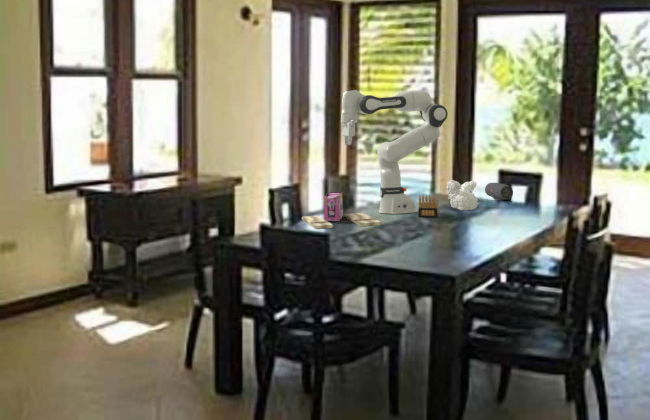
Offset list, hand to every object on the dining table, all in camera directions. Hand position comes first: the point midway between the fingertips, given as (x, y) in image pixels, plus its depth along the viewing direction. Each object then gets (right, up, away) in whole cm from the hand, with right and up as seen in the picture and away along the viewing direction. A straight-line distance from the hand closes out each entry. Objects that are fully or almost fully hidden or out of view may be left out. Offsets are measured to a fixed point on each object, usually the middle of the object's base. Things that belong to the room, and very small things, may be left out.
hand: (348, 144), depth 493 cm
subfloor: (-5, -42, -25) cm, 49 cm away
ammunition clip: (+42, -40, -18) cm, 61 cm away
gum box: (-8, -41, -11) cm, 43 cm away
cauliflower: (+66, -35, +17) cm, 76 cm away
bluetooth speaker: (+93, -30, +54) cm, 112 cm away
